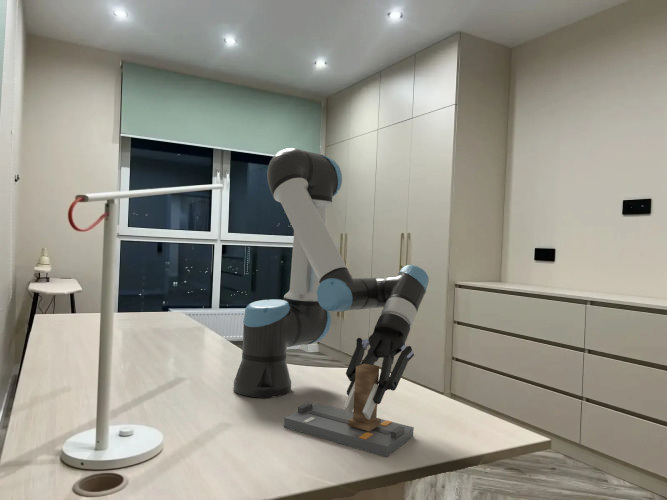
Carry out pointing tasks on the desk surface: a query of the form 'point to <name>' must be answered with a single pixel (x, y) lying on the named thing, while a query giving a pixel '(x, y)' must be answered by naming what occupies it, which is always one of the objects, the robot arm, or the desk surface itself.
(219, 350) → the desk surface
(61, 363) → the desk surface
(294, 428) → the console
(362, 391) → the fader
